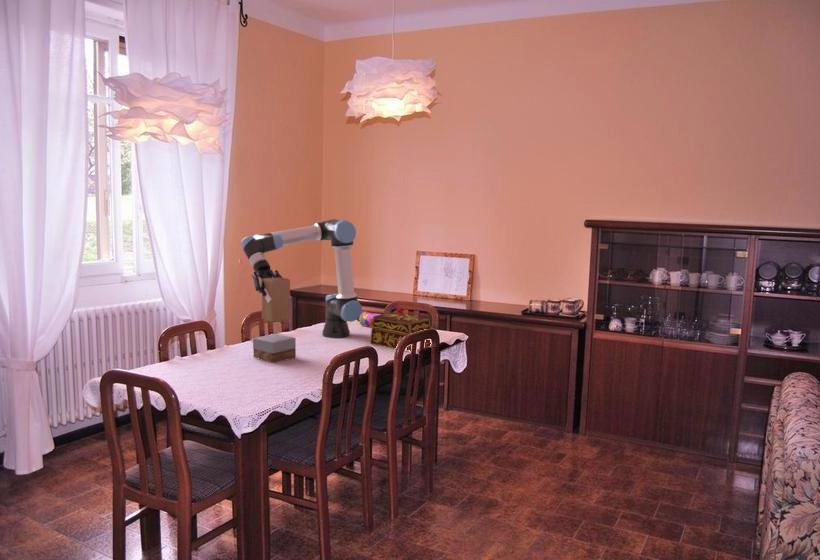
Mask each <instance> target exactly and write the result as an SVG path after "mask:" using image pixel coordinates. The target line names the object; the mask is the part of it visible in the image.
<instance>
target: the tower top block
mask: <svg viewBox="0 0 820 560" xmlns="http://www.w3.org/2000/svg"><path fill="white" fill-rule="evenodd" d="M294 348H296V337H294V336H288V335H284V334H278V333H272V334H267V335H263V336H257V337H253V338H252V349H253V350H254V349H257V350H261V351H265V352H270V353H277V352H281V351H285V350H289V349H294Z"/></svg>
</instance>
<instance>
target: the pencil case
mask: <svg viewBox="0 0 820 560" xmlns="http://www.w3.org/2000/svg"><path fill="white" fill-rule="evenodd" d="M378 315H382V314H380V313H372V312H369V311H364V310H362V313H361V315H360V316H359V318H358V319H357V320H356V321H357V322H359V324H360V326H362V325H365V326H364V327H368V326H369V327H368V328H372V321H373V316H378Z"/></svg>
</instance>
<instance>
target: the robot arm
mask: <svg viewBox="0 0 820 560" xmlns="http://www.w3.org/2000/svg"><path fill="white" fill-rule="evenodd" d="M356 237H357V228H356V227H355V225H354V224H353V223H352V222H351V221H349V220H346V219H335V218H333V219H328V220H324V221H319V222H315V223H314V224H313V225H309V226H303V227H302V226H301V227H297V228H296V227H295V228H290V229H284V230H278V231H273V232H267V233H257V234H254V235H253V236H252V235H251V236H250V235H248V236H246V237H243V239H242V240H241V242H240V246H241V248H242V251H243V252H244V254H245V256H246V257H247V259H248V262H249V263H250V265H251V267H252V269H253V270H254V271H253V273H252V275H251V277H252V279H253V282H254V289H255V291H256V292H258V293H260V294H261V296H262V295H263V296H264V297H265V298H266V300H267V302H268V303H270V301H271V300H272V299H271V297H270V295H269V293H268V291H267V290H266V288H265V289H264V283H263V281H262V279H263V278H273V277H281V278H284V277H283V276H282V275H281V274H280V273H279V271H278V270H277V269H275V271H273V270H272V269H271V265H270V263H269V261H268V260H267V258H266V256H265V253H269V252H273V251H276V250H279V249H281V248H283V247H284V246H286V245H290V244H291V245H292V244H296V243H303V242H309V241H314V240H316V241H317V242H318V241H320V242H321V241H330V244H331V247H332V249H334V256H335V257H334V258H335V268H336V269H335V270H336V282H337V283H336V284H337V293H332V294H327V295H325V300H324V301H325V322H324V326H323V329H322V332H321V333H322V336H323V337H326V338H337V339H338V338H345V337H346V338H347V337H349V336H350V334H351V333H350V332H351V331H350V329H349V328H350V327H349V325H348V322H350V323H351V322H354V321H357V319H358V318H359V317H360V315H361V314H362V311H363V307H362V304H361V303H360V302H359V301H358V300H359V299H358V297H359V296H358V294H357V293H356V292H355V286H354V285H355V284H354V271H353V261H352V258H353V257H352V247H353V246H354V240H355V239H356ZM291 298H292V296H291V295H290V299H291Z"/></svg>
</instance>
